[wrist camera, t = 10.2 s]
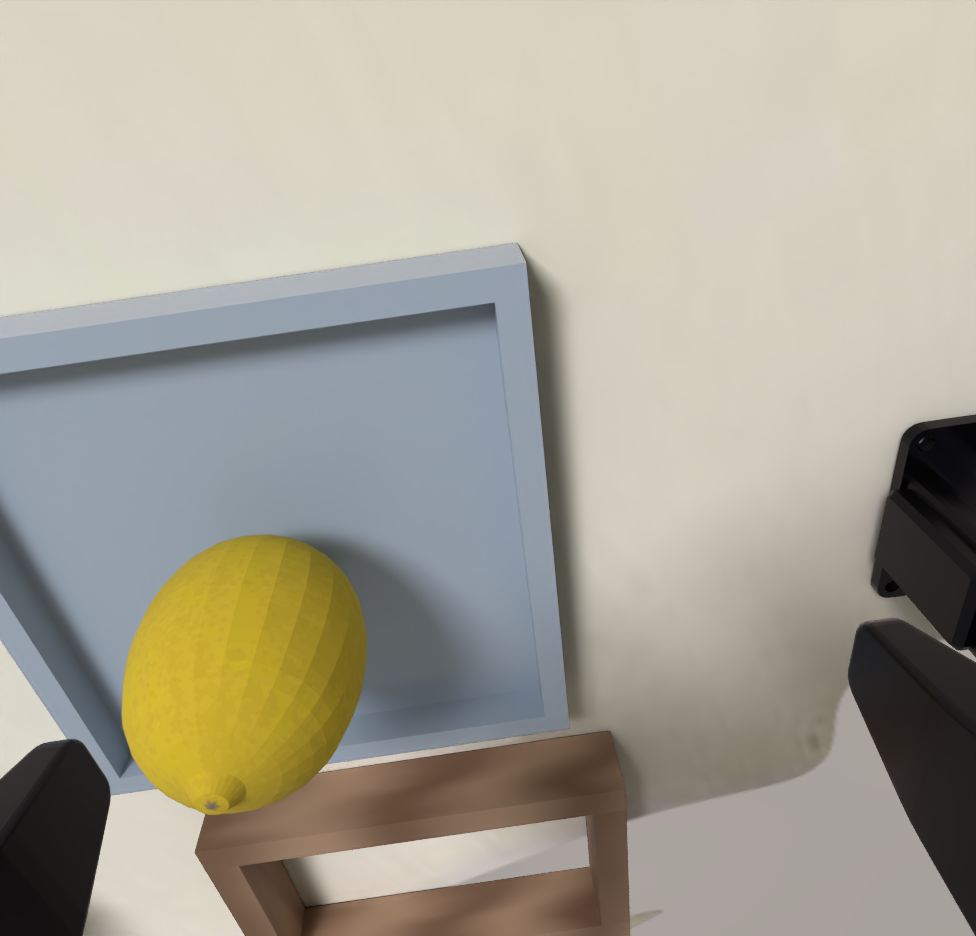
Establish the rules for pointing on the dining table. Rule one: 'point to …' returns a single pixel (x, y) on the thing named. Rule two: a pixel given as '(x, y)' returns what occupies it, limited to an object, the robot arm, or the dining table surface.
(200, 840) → the holder
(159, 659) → the lemon
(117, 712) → the tray
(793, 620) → the dining table surface
